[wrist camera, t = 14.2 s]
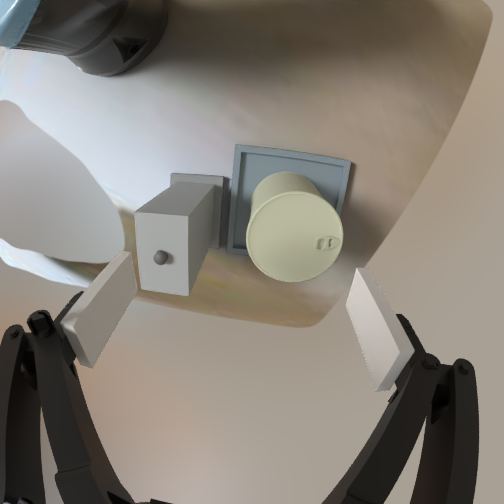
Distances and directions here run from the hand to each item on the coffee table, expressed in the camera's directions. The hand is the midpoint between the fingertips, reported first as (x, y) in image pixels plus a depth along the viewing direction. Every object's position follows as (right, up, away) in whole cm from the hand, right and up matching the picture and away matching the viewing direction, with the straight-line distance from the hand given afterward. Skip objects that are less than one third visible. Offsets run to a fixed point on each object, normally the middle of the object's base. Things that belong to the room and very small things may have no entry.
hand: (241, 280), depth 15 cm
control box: (-7, +7, +21) cm, 23 cm away
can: (+5, +8, +20) cm, 22 cm away
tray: (+5, +8, +20) cm, 22 cm away
